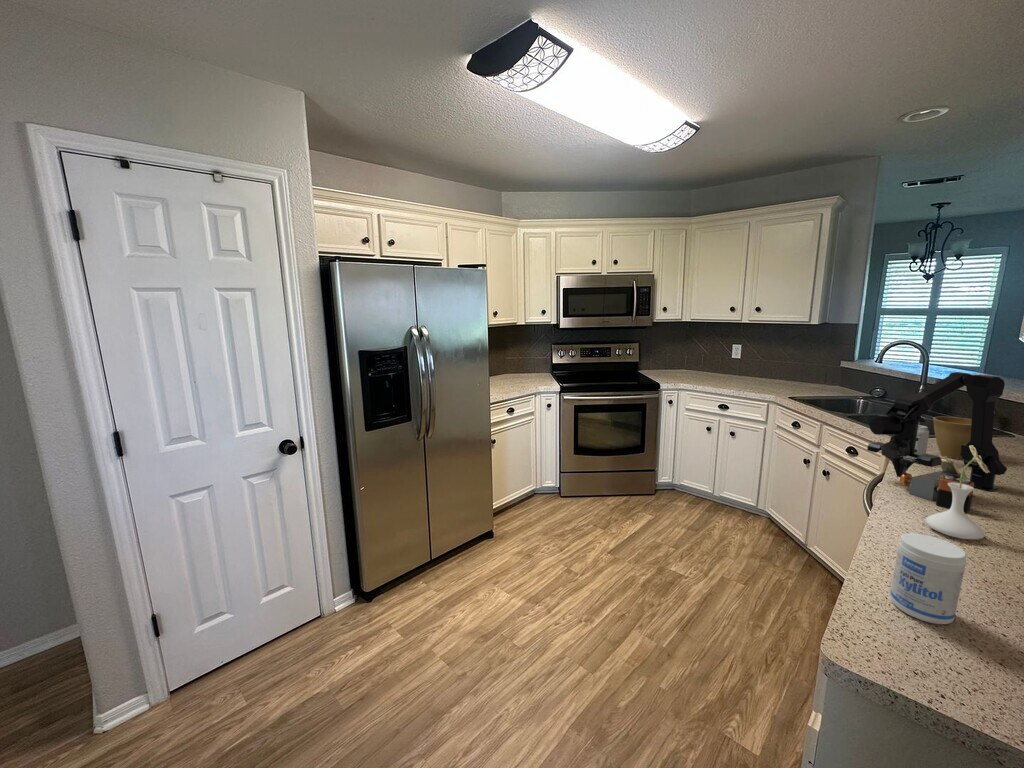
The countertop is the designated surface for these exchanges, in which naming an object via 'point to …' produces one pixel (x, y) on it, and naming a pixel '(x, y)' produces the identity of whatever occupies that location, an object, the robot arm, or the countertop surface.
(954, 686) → the countertop surface
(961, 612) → the countertop surface
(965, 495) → the flower in vase
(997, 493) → the countertop surface
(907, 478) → the pin
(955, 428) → the plant pot
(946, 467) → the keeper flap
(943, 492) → the battery
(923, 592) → the supplement tub
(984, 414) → the robot arm
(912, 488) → the drawbar block
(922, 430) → the energy drink can
